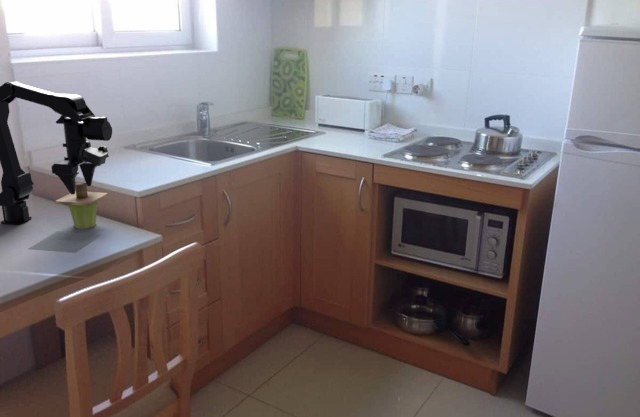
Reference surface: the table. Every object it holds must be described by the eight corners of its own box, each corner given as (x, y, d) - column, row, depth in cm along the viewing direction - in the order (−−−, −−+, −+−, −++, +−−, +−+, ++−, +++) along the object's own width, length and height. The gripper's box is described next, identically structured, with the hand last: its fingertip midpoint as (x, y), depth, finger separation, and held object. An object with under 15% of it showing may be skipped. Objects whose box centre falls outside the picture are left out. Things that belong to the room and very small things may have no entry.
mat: (28, 250, 158) (27, 248, 158) (57, 232, 171) (57, 231, 171) (75, 254, 157) (75, 252, 156) (101, 236, 170) (101, 234, 170)
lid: (55, 203, 170) (53, 188, 169) (75, 193, 181) (73, 178, 179) (90, 206, 169) (88, 190, 167) (108, 195, 179) (106, 180, 178)
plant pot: (107, 222, 182) (104, 195, 179) (92, 232, 173) (90, 204, 170) (78, 220, 182) (75, 194, 180) (63, 230, 173) (59, 203, 171)
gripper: (84, 146, 159) (90, 200, 164) (116, 134, 177) (120, 183, 182) (47, 144, 161) (53, 198, 165) (82, 132, 178) (87, 181, 183)
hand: (81, 190), depth 174 cm, fingers open, 9 cm apart
